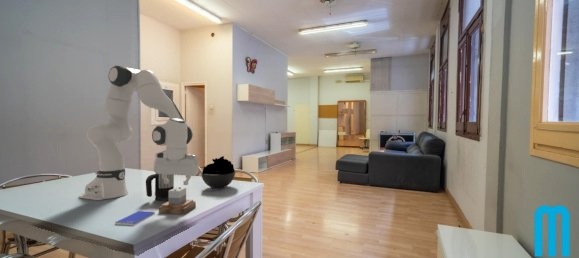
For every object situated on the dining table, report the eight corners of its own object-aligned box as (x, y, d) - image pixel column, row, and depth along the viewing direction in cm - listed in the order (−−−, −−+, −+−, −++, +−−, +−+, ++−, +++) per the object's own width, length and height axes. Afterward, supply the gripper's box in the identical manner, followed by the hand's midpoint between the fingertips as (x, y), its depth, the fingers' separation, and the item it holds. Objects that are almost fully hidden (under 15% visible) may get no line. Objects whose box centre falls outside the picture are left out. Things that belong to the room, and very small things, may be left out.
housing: (176, 199, 119) (176, 186, 119) (186, 200, 118) (186, 187, 118) (168, 204, 113) (168, 190, 113) (179, 204, 112) (178, 190, 112)
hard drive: (134, 223, 98) (154, 211, 110) (114, 221, 99) (137, 210, 111) (134, 227, 98) (154, 215, 110) (114, 225, 99) (137, 214, 111)
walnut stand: (158, 213, 111) (158, 205, 111) (172, 205, 121) (172, 198, 121) (184, 214, 110) (184, 206, 110) (195, 206, 120) (195, 199, 120)
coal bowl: (217, 194, 140) (217, 161, 140) (194, 189, 150) (194, 158, 150) (242, 186, 157) (242, 156, 157) (219, 182, 168) (219, 154, 167)
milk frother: (165, 194, 139) (165, 168, 139) (188, 197, 134) (188, 170, 133) (142, 202, 126) (142, 173, 126) (166, 206, 121) (166, 175, 120)
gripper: (201, 154, 116) (201, 183, 117) (160, 152, 119) (160, 181, 120) (194, 156, 110) (194, 187, 110) (151, 153, 113) (151, 184, 113)
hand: (176, 184), depth 115 cm, fingers open, 8 cm apart
